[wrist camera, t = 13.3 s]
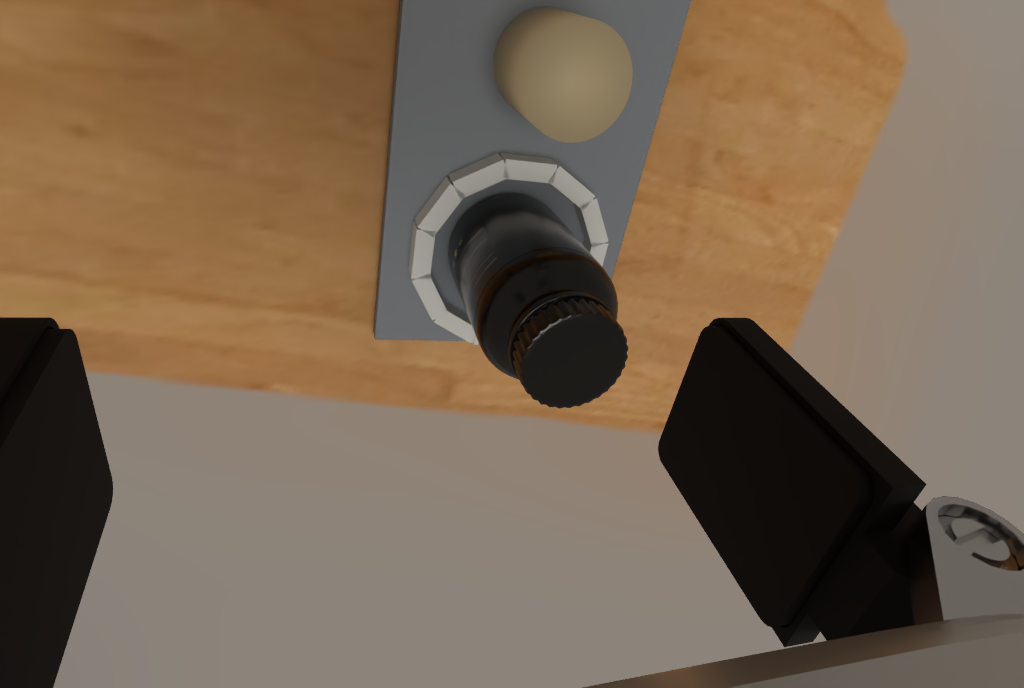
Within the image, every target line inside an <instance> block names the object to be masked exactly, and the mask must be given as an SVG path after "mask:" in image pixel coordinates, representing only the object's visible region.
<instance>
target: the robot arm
mask: <svg viewBox="0 0 1024 688" xmlns="http://www.w3.org/2000/svg"><path fill="white" fill-rule="evenodd" d="M658 451H659V457H660V460H661V462H662V464H663V465H664V467H665V468H666V470H667V471H668V473H669V475H670V477H671V478H672V480H673V481H674V483H675V485H676V486H677V488H678V489H679V491H680V492H681V494H682V495H683V497H684V499H685V500H686V502H687V504H688V505H689V507H690V508H691V510H692V511H693V513H694V515H695V516H696V518H697V519H698V521H699V523H700V524H701V526H702V527H703V529H704V531H705V532H706V534H707V535H708V537H709V538H710V540H711V542H712V543H713V545H714V546H715V548H716V550H717V551H718V553H719V554H720V556H721V557H722V559H723V561H724V562H725V563H726V565H727V567H728V569H729V570H730V572H731V573H732V575H733V576H734V578H735V580H736V581H737V583H738V584H739V586H740V588H741V589H742V591H743V592H744V594H745V595H746V597H747V599H748V600H749V602H750V603H751V605H752V607H753V608H754V610H755V611H756V613H757V614H758V616H759V617H760V619H761V620H762V621H763V622H764V623H765V624H766V625H767V626H770V627H772V628H773V630H774V631H775V633H776V634H777V636H778V638H779V639H780V641H781V642H782V644H783V646H784V647H787V646H793V645H798V644H803V643H808V642H813V641H814V639H815V638H816V637H817V635H818V634H819V632H821V633H822V634H823V636H824V637H825V638H826V640H827V641H824V642H819V643H814V644H808V645H803V646H797V647H792V648H787V649H782V650H777V651H771V652H766V653H760V654H755V655H750V656H744V657H739V658H734V659H729V660H723V661H718V662H713V663H707V664H702V665H697V666H692V667H687V668H681V669H676V670H671V671H666V672H661V673H656V674H651V675H645V676H640V677H635V678H630V679H625V680H620V681H614V682H610V683H604V684H599V685H594V686H589V687H583V688H1024V534H1023V533H1022V532H1021V531H1020V530H1018V529H1017V528H1016V527H1015V526H1013V525H1012V524H1011V523H1010V522H1009V521H1007V520H1005V519H1004V518H1003V517H1001V516H999V515H997V514H996V513H995V512H993V511H991V510H989V509H987V508H985V507H983V506H980V505H978V504H976V503H974V502H971V501H968V500H964V499H961V498H958V497H947V496H942V497H937V498H933V499H932V500H931V501H930V502H929V503H928V504H927V505H926V506H925V507H924V509H923V510H922V511H921V509H919V507H917V506H916V505H915V504H914V503H913V502H914V501H915V499H916V498H917V496H918V495H919V494H920V492H921V491H922V490H923V488H924V487H925V485H926V484H925V482H923V481H922V480H921V479H920V478H919V477H918V476H917V475H916V474H915V473H914V472H913V471H912V470H911V469H910V468H909V467H908V466H906V465H905V464H904V463H903V462H902V461H901V460H900V459H899V458H898V457H897V456H896V455H895V454H894V453H893V452H892V451H890V449H888V448H887V447H886V446H885V445H884V444H883V443H882V442H881V441H880V440H879V439H878V438H877V437H876V436H875V435H873V433H872V432H870V431H869V430H868V429H867V428H866V427H865V426H864V425H863V424H862V423H861V422H860V421H859V420H858V419H856V417H855V416H854V415H852V414H851V413H850V412H849V411H848V410H847V409H846V408H845V407H844V406H843V405H842V404H841V403H840V402H839V401H838V400H837V399H836V398H834V397H833V396H832V395H831V394H830V393H829V392H828V391H827V390H826V389H825V388H824V387H823V386H822V385H820V383H819V382H817V381H816V380H815V379H814V378H813V377H812V376H811V375H810V374H809V373H808V372H807V371H806V370H805V369H804V368H803V367H802V366H801V365H800V364H798V363H797V362H796V361H795V360H794V359H793V358H792V357H791V356H790V355H789V354H788V353H787V352H786V351H785V350H784V349H783V348H782V347H780V346H779V345H778V344H777V343H776V342H775V341H774V340H773V339H772V338H771V337H770V336H769V335H768V334H767V333H766V332H765V331H764V330H762V329H761V328H760V327H759V326H758V325H757V324H756V323H755V322H754V321H752V320H751V319H749V318H717V319H714V320H713V321H712V322H711V323H710V325H709V326H708V327H705V328H704V329H703V330H702V332H701V334H700V336H699V339H698V341H697V344H696V346H695V349H694V352H693V354H692V357H691V360H690V362H689V365H688V367H687V370H686V373H685V375H684V378H683V380H682V383H681V386H680V388H679V391H678V394H677V396H676V399H675V401H674V404H673V407H672V409H671V412H670V414H669V417H668V420H667V422H666V425H665V428H664V430H663V433H662V435H661V438H660V441H659V446H658ZM112 496H113V482H112V476H111V472H110V469H109V464H108V461H107V456H106V452H105V448H104V444H103V441H102V437H101V433H100V429H99V425H98V421H97V417H96V413H95V409H94V405H93V401H92V397H91V393H90V389H89V385H88V381H87V377H86V373H85V369H84V365H83V361H82V357H81V353H80V349H79V345H78V341H77V338H76V335H75V333H74V332H73V330H71V329H59V326H58V324H57V323H56V321H55V320H54V319H52V318H0V688H53V685H54V682H55V679H56V676H57V673H58V670H59V667H60V664H61V660H62V657H63V654H64V651H65V648H66V645H67V642H68V639H69V635H70V632H71V629H72V626H73V623H74V620H75V616H76V614H77V610H78V607H79V604H80V601H81V598H82V595H83V591H84V588H85V585H86V582H87V579H88V576H89V573H90V569H91V566H92V563H93V560H94V557H95V554H96V551H97V548H98V545H99V541H100V538H101V535H102V532H103V529H104V526H105V523H106V520H107V516H108V513H109V510H110V507H111V503H112Z"/></svg>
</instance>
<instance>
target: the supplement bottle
mask: <svg viewBox="0 0 1024 688" xmlns="http://www.w3.org/2000/svg"><path fill="white" fill-rule="evenodd" d="M448 257H449V266H450V271H451V274H452V277H453V280H454V282H455V285H456V287H457V290H458V292H459V295H460V297H461V300H462V302H463V305H464V307H465V310H466V312H467V315H468V317H469V320H470V322H471V325H472V327H473V330H474V332H475V335H476V337H477V340H478V342H479V345H480V347H481V348H482V350H483V352H484V354H485V356H486V357H487V358H488V360H489V361H490V362H491V363H492V364H493V365H494V366H495V367H496V368H497V369H499V370H500V371H502V372H503V373H505V374H507V375H509V376H511V377H513V378H516V379H519V380H520V382H521V384H522V385H523V387H524V389H525V391H526V392H527V393H528V394H530V395H531V397H532V398H533V399H534V400H538V401H539V402H540V403H541V404H546V405H548V406H549V407H557V408H563V407H567V408H571V407H573V406H580V405H582V404H584V403H589V402H591V401H592V400H593V399H595V398H598V397H600V396H601V394H602V393H605V392H606V391H608V389H609V388H610V387H611V386H612V385H613V384H615V382H616V379H617V378H618V377H620V376H621V372H622V370H623V369H624V367H625V361H626V360H627V358H628V356H627V351H628V346H627V344H626V343H627V338H626V336H625V335H624V332H623V329H622V327H621V326H620V325H619V324H618V322H617V321H616V320H617V313H618V301H617V295H616V291H615V288H614V285H613V283H612V281H611V279H610V277H609V276H608V274H607V273H606V271H605V270H604V269H603V267H602V266H601V265H600V264H599V263H598V261H597V260H596V259H595V258H594V257H593V256H592V255H591V254H590V252H589V251H588V250H587V249H586V248H585V247H584V246H583V244H582V243H581V242H580V241H579V240H578V239H577V238H576V237H575V235H574V234H573V233H572V232H571V231H570V230H569V229H568V227H567V226H566V225H565V224H564V223H563V222H562V221H561V219H560V218H559V217H558V216H557V215H556V214H555V213H554V212H553V211H552V210H551V209H550V208H549V207H547V206H546V205H545V204H543V203H542V202H540V201H538V200H536V199H534V198H531V197H528V196H524V195H517V194H507V195H500V196H496V197H492V198H490V199H487V200H485V201H483V202H481V203H479V204H478V205H476V206H475V207H474V208H472V209H471V210H470V211H469V212H468V213H467V214H466V215H465V216H464V217H463V218H462V219H461V221H460V222H459V224H458V225H457V227H456V229H455V231H454V233H453V235H452V238H451V241H450V246H449V255H448Z"/></svg>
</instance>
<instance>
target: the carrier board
mask: <svg viewBox="0 0 1024 688" xmlns="http://www.w3.org/2000/svg"><path fill="white" fill-rule="evenodd" d="M690 2H691V0H400V10H399V22H398V34H397V47H396V59H395V71H394V84H393V96H392V108H391V121H390V133H389V145H388V158H387V170H386V182H385V195H384V207H383V219H382V232H381V244H380V256H379V269H378V281H377V293H376V306H375V318H374V330H373V331H374V337H375V339H380V340H441V341H467V342H469V343H471V344H472V343H473V344H479V342H478V340H477V337H476V335H475V332H474V330H473V327H472V325H471V322H470V320H469V317H468V315H467V312H466V310H465V307H464V305H463V302H462V300H461V297H460V295H459V292H458V290H457V287H456V285H455V282H454V280H453V277H452V274H451V271H450V266H449V257H448V255H449V246H450V241H451V238H452V235H453V233H454V231H455V229H456V227H457V225H458V224H459V222H460V221H461V219H462V218H463V217H464V216H465V215H466V214H467V213H468V212H469V211H470V210H471V209H472V208H474V207H475V206H476V205H478V204H479V203H481V202H483V201H485V200H487V199H490V198H492V197H496V196H500V195H507V194H517V195H524V196H528V197H531V198H534V199H536V200H538V201H540V202H542V203H543V204H545V205H546V206H547V207H549V208H550V209H551V210H552V211H553V212H554V213H555V214H556V215H557V216H558V217H559V218H560V219H561V221H562V222H563V223H564V224H565V225H566V226H567V227H568V229H569V230H570V231H571V232H572V233H573V234H574V235H575V237H576V238H577V239H578V240H579V241H580V242H581V243H582V244H583V246H584V247H585V248H586V249H587V250H588V251H589V252H590V254H591V255H592V256H593V257H594V258H595V259H596V260H597V261H598V263H599V264H600V265H601V266H602V267H603V269H604V270H605V271H606V273H607V274H608V276H609V277H610V279H612V276H613V272H614V269H615V265H616V262H617V258H618V255H619V251H620V248H621V244H622V241H623V237H624V233H625V230H626V226H627V223H628V219H629V216H630V212H631V209H632V205H633V202H634V198H635V195H636V191H637V188H638V184H639V181H640V177H641V174H642V170H643V167H644V163H645V160H646V156H647V153H648V149H649V146H650V142H651V139H652V135H653V132H654V128H655V125H656V121H657V118H658V114H659V111H660V107H661V104H662V100H663V97H664V93H665V90H666V86H667V83H668V79H669V76H670V72H671V69H672V65H673V62H674V58H675V55H676V51H677V48H678V44H679V41H680V37H681V34H682V30H683V27H684V23H685V20H686V16H687V13H688V9H689V6H690Z"/></svg>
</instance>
